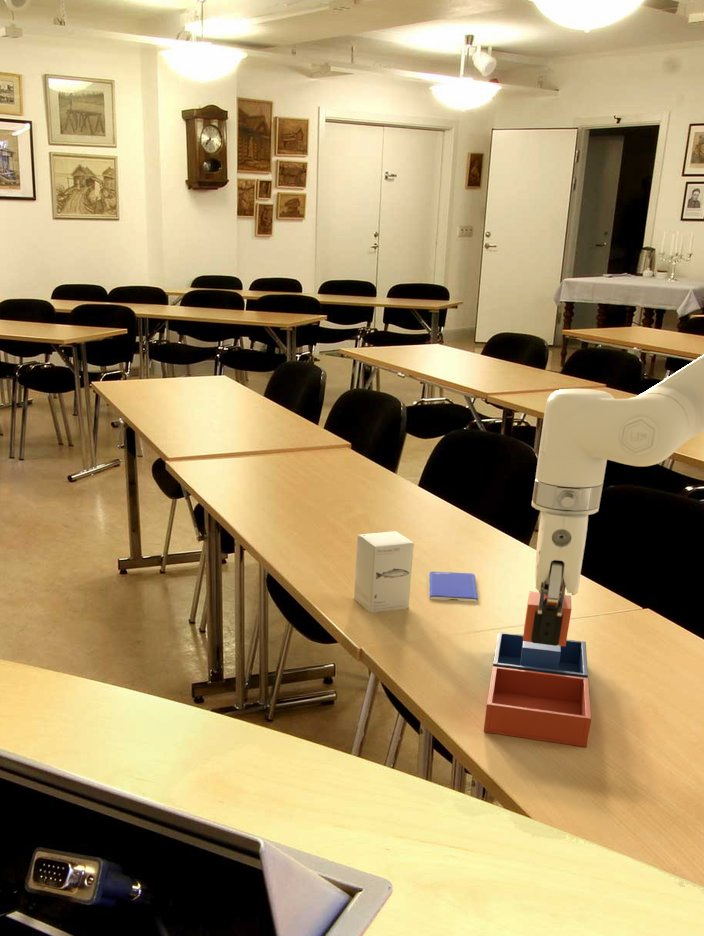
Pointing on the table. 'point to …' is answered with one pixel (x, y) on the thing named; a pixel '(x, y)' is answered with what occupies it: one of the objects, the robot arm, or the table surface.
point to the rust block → (533, 607)
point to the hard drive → (452, 586)
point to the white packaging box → (383, 571)
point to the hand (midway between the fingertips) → (545, 633)
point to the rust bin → (538, 706)
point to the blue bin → (569, 664)
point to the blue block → (540, 655)
